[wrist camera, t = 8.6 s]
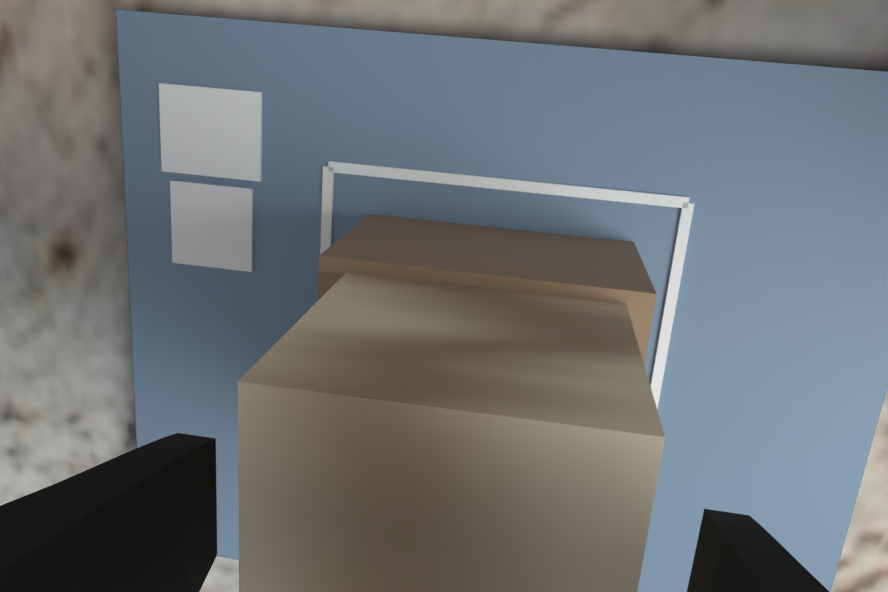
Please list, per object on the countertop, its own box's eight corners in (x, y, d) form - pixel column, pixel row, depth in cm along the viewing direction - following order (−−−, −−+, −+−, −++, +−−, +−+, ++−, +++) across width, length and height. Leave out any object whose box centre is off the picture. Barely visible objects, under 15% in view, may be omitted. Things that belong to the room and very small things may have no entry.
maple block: (626, 304, 13) (665, 437, 9) (588, 548, 15) (603, 777, 10) (346, 272, 14) (238, 381, 9) (337, 511, 15) (240, 712, 11)
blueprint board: (948, 77, 16) (1112, 84, 11) (801, 624, 20) (876, 795, 16) (139, 11, 18) (-10, -6, 13) (159, 523, 22) (51, 648, 17)
